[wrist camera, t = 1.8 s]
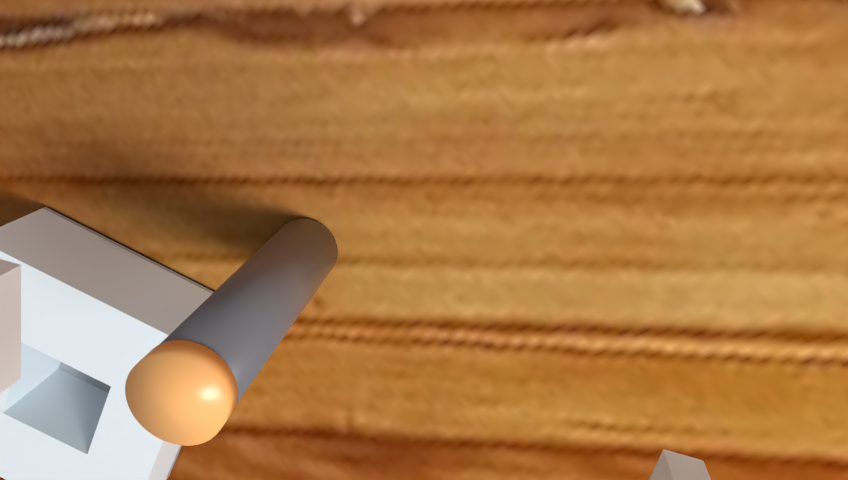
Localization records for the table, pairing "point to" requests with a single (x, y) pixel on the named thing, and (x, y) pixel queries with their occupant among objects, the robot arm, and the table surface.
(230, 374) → the marker
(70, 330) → the socket block
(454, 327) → the table surface
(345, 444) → the table surface
